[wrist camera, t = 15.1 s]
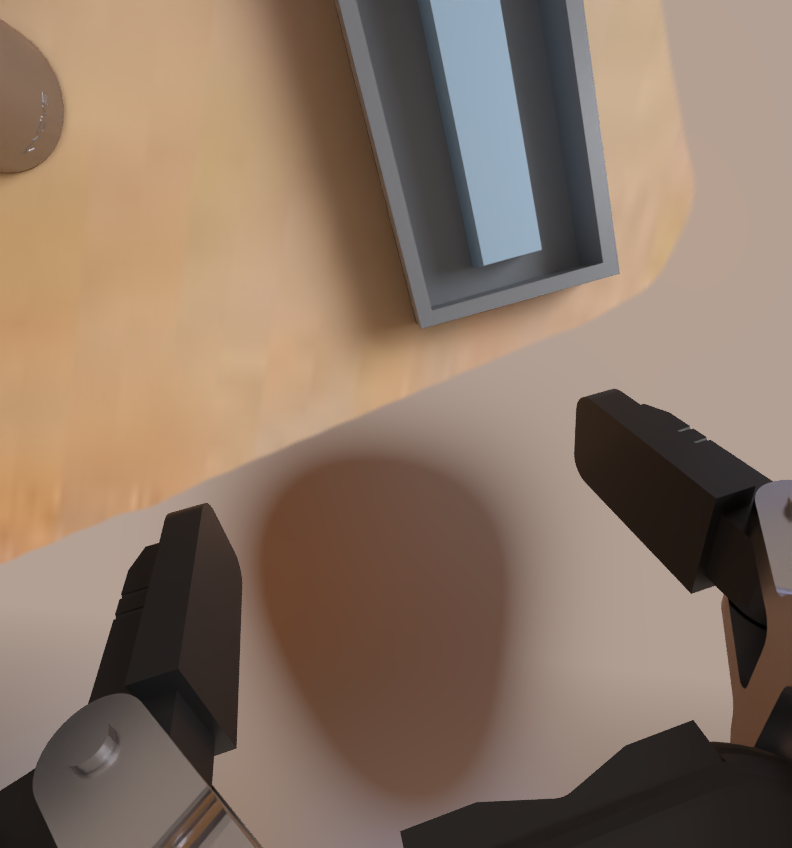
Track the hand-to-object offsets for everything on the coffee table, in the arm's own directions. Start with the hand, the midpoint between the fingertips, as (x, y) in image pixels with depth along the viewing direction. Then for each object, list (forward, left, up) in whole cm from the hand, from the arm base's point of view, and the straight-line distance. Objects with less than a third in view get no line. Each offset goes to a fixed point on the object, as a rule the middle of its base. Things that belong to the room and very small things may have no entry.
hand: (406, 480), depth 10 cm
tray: (-4, +17, -29) cm, 34 cm away
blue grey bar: (-3, +17, -28) cm, 33 cm away
